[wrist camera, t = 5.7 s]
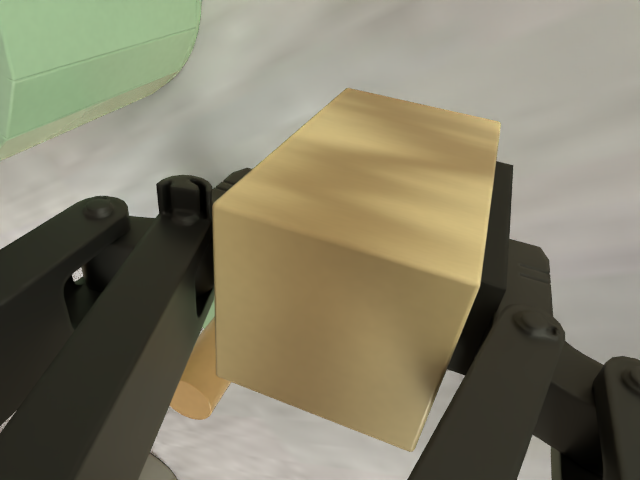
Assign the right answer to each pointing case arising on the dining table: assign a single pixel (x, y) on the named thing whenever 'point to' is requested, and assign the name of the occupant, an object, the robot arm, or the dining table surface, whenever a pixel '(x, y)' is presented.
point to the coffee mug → (155, 470)
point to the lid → (200, 376)
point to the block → (355, 261)
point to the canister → (84, 61)
